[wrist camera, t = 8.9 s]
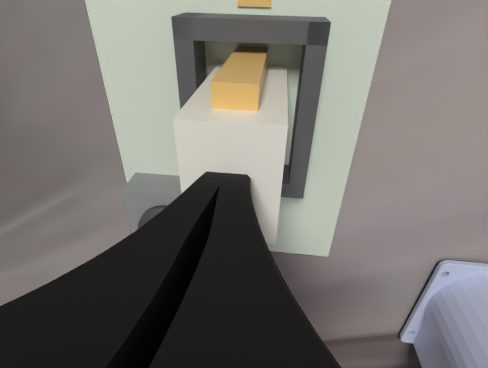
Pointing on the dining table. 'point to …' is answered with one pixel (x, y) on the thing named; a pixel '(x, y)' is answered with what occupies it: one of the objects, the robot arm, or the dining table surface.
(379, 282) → the dining table surface
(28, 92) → the dining table surface
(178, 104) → the board
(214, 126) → the plug
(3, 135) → the dining table surface
